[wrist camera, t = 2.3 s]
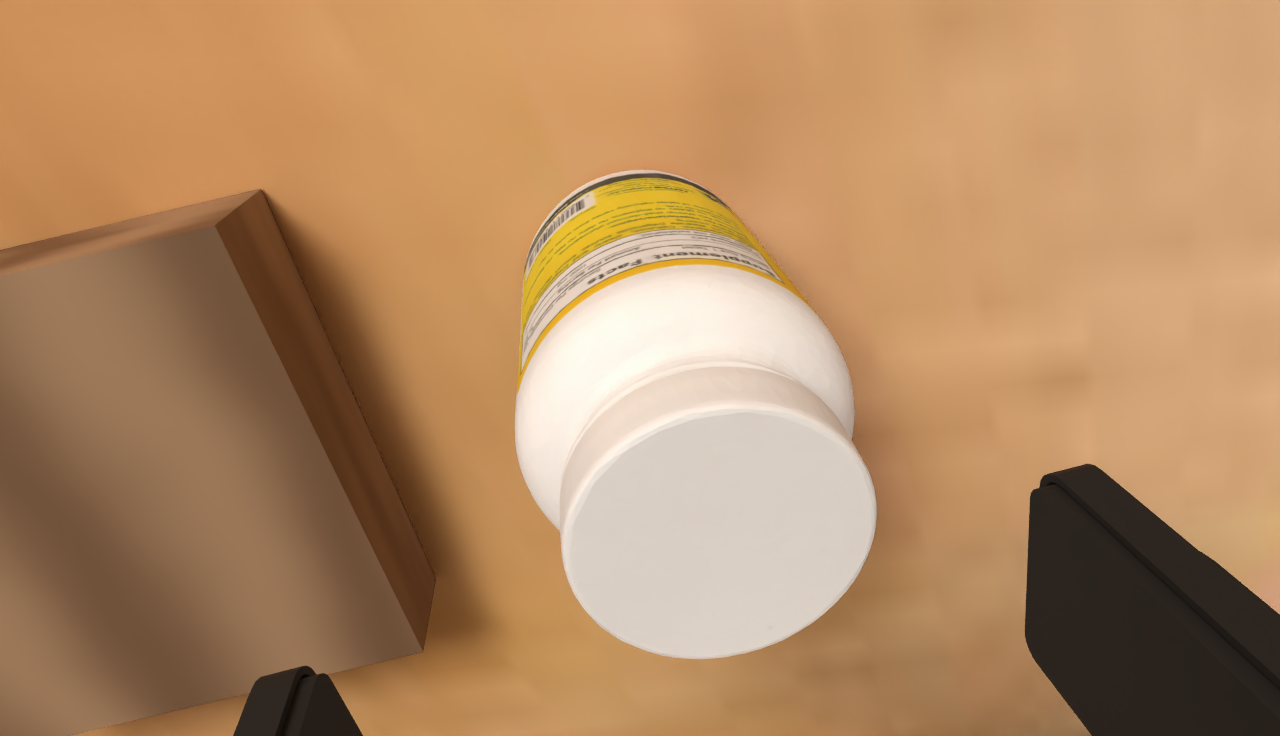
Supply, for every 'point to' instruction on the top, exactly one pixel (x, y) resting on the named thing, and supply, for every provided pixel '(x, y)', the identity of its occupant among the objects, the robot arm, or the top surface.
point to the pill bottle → (685, 422)
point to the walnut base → (184, 477)
